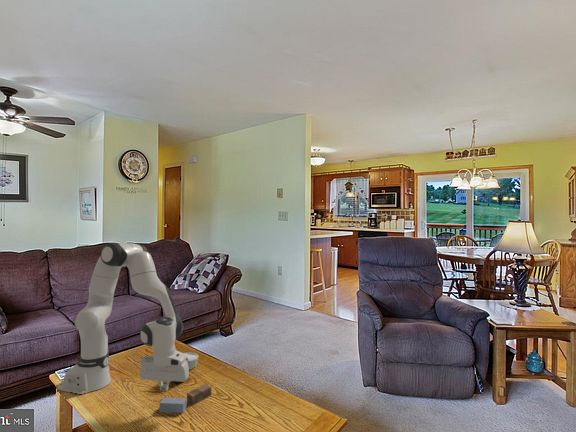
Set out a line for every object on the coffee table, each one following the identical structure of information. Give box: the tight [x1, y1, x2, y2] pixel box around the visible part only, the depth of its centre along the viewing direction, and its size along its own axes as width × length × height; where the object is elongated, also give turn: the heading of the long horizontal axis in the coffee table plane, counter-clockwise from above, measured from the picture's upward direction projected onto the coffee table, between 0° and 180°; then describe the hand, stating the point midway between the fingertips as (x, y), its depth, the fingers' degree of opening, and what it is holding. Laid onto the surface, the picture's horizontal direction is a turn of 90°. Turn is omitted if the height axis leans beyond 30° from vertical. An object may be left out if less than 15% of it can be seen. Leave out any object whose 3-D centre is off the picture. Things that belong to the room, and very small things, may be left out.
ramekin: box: [183, 352, 199, 371], centre depth 174 cm, size 11×11×5 cm
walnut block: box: [186, 383, 212, 406], centre depth 144 cm, size 4×4×10 cm
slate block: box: [159, 396, 188, 414], centre depth 136 cm, size 4×4×10 cm
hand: (164, 389), depth 136 cm, fingers closed
